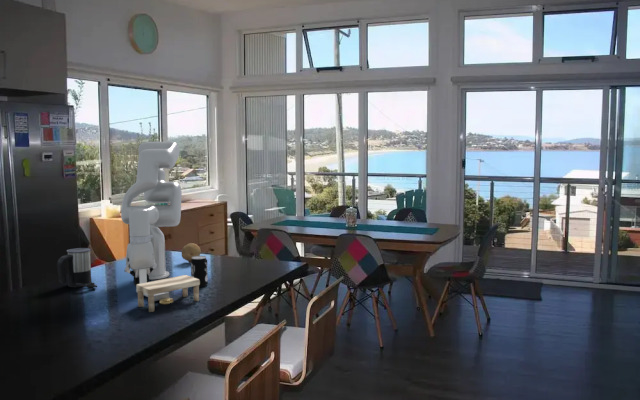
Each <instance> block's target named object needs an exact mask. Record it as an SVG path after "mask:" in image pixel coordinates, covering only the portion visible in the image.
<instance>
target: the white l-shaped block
mask: <svg viewBox="0 0 640 400" xmlns="http://www.w3.org/2000/svg"><path fill="white" fill-rule="evenodd" d="M138 277H139V280H140V284H141V283H146V282H147V270H146V268H143V269H139V270H138ZM135 292H136V293H138V291H137V290H136V291H135ZM143 294H144V297H147V298H148V295H147V294H145V293H143ZM163 298H170V291H169V292H164V293H160V294H155V295H154V302H157V301H159V300H160V299H163Z"/></svg>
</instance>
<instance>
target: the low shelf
mask: <svg viewBox="0 0 640 400" xmlns="http://www.w3.org/2000/svg"><path fill="white" fill-rule="evenodd" d="M199 285H200V280H199V279H196V278H194V277H191V275H187V274H183V275H177V276H173V277H166V278H162V279H156V280H151V281H149V282H146V283H141V284H136V286H135V287H136V288H135V289H136V290H137V291H138V292H137V307H138V308H142V307H145V302H144V301H145V300H144V297H145V296H144V294H143V293H145V294H147V295H148V297H147V300H148V301H147V303H148V308H147V309H148V313H154V312H156V311H155V301H154V295H155V294H160V293H167V292H169V293H170V292H172V291H177V290H182V297H183V298H185V297H186V298H187V297H188V295H189V288H192V287H193V288H192V289H193V290H192V291H193V301H194V302H199V301H200V288H199Z"/></svg>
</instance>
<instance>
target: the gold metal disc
mask: <svg viewBox="0 0 640 400" xmlns="http://www.w3.org/2000/svg"><path fill="white" fill-rule="evenodd" d="M158 301H159V303H158V304H160V305H170V303H171V304H173V303H174V298H172V297H169V298H163V299H160V300H158Z"/></svg>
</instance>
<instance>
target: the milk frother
mask: <svg viewBox="0 0 640 400" xmlns="http://www.w3.org/2000/svg"><path fill="white" fill-rule="evenodd" d="M66 252H67V254H64V255H62V256H61V257H60V258H58V260H57V262H56V267H57V274H58V275H57V276H58V282H59V283H61V284H66V283H67V281H68V284H67V286H68V287H70V288H84V287H85V288H87V289H90V290H94V288H98V285H97V284H96V283H95V282H92V270H91V268H92V267H91V248H90V247H89V248H88V247H77V248H70V249H67V250H66ZM66 263H67V274H66Z"/></svg>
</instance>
